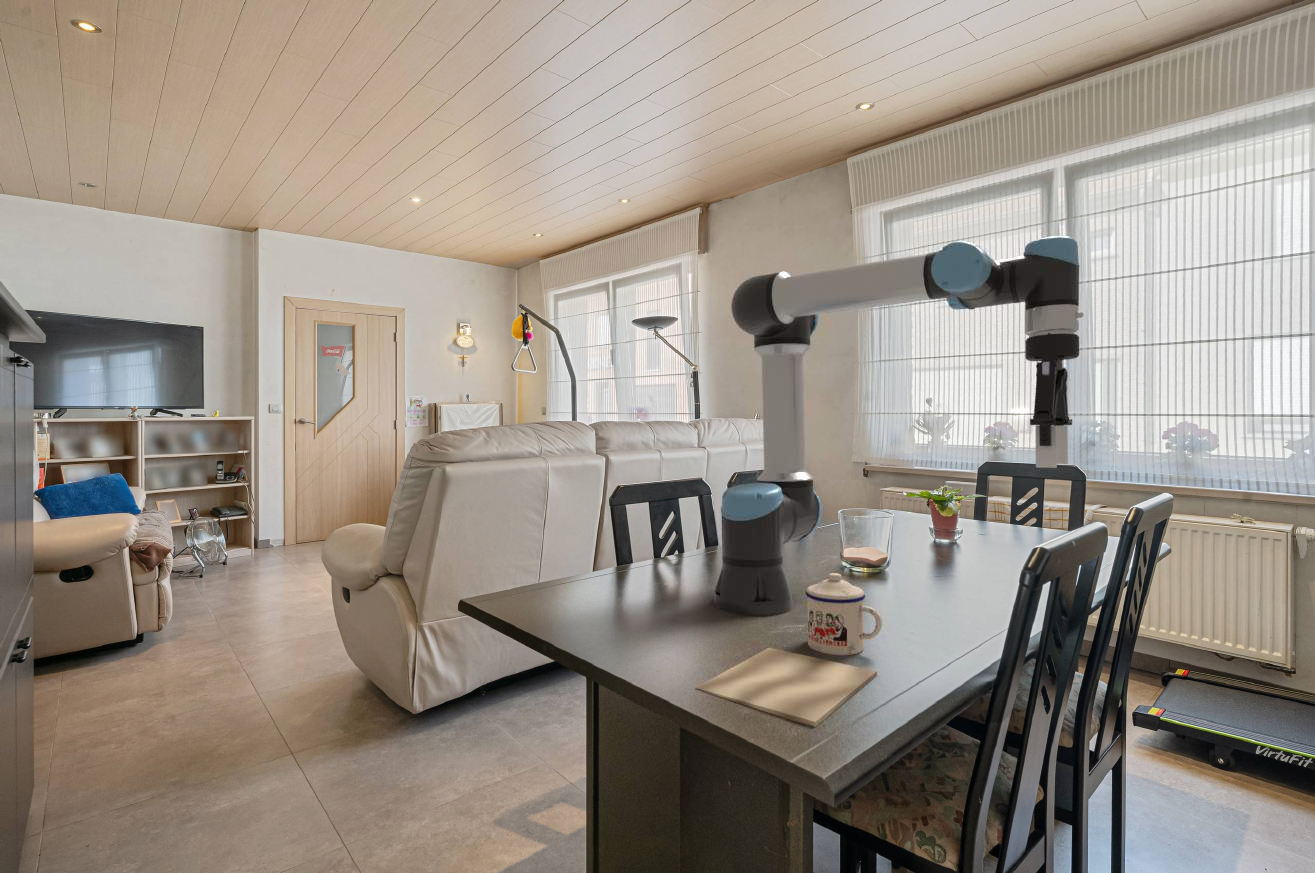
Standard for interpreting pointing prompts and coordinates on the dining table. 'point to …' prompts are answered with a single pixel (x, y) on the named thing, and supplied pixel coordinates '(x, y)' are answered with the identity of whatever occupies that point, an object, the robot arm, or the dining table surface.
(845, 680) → the cork mat
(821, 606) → the teacup with lid
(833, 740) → the dining table surface
